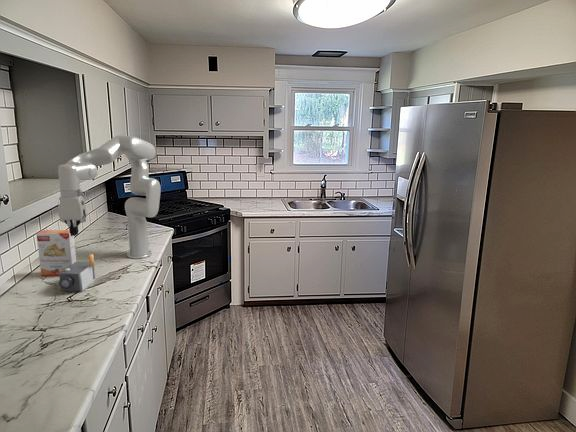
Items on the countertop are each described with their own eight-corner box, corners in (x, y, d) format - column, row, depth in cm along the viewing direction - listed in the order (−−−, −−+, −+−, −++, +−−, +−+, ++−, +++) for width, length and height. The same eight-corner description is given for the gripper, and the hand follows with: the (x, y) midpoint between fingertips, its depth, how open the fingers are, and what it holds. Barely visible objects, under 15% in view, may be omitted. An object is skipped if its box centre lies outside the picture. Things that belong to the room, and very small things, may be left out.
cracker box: (40, 276, 186) (35, 233, 181) (46, 271, 192) (41, 229, 187) (73, 275, 188) (68, 232, 183) (77, 271, 194) (73, 229, 189)
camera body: (77, 278, 186) (75, 260, 184) (94, 278, 186) (93, 260, 184) (57, 293, 170) (55, 273, 168) (76, 293, 170) (74, 274, 168)
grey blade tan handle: (91, 281, 182) (88, 253, 179) (96, 281, 182) (94, 253, 179) (79, 291, 172) (76, 262, 168) (85, 291, 172) (82, 262, 168)
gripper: (92, 192, 175) (95, 233, 179) (57, 191, 175) (61, 232, 179) (83, 195, 168) (87, 238, 172) (47, 194, 167) (52, 237, 172)
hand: (74, 235), depth 175 cm, fingers closed
